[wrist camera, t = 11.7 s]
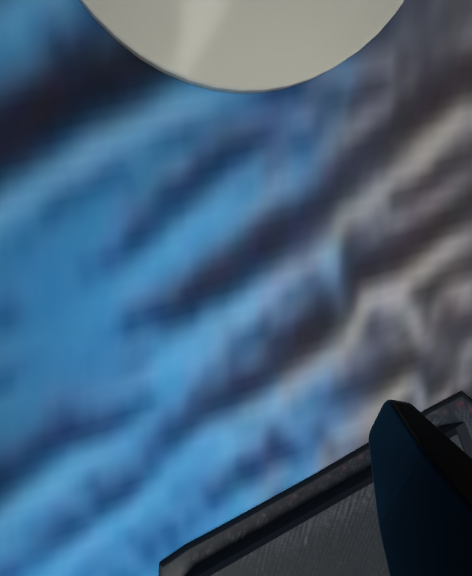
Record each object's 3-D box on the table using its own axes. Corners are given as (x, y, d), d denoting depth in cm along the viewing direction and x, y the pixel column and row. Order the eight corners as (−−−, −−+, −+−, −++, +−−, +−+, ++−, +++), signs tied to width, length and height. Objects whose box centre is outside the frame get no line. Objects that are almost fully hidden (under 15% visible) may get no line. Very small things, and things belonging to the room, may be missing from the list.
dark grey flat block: (489, 396, 22) (542, 582, 26) (463, 379, 23) (518, 556, 28) (142, 583, 20) (262, 743, 25) (143, 551, 22) (255, 705, 27)
